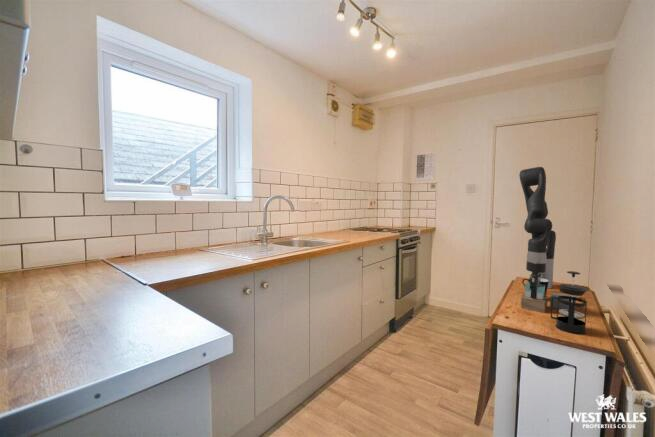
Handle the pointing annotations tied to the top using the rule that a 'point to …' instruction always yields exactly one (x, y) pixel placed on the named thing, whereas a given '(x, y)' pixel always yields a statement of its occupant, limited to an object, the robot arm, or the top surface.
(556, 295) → the stand
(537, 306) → the stand
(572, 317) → the french press
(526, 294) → the teal rectangular block
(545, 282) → the coffee mug
